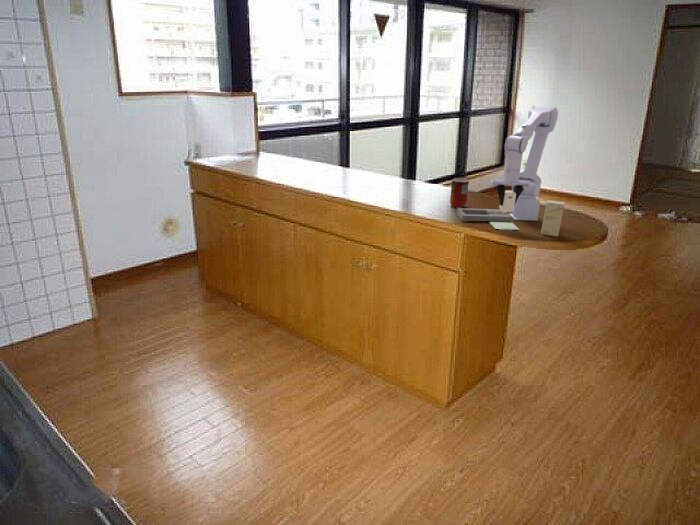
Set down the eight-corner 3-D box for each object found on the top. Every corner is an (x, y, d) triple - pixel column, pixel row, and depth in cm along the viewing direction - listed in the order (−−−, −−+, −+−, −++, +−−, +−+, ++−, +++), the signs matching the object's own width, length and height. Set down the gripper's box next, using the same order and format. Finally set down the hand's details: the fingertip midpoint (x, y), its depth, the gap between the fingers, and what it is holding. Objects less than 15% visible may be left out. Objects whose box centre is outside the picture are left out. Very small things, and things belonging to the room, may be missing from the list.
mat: (512, 223, 201) (512, 222, 200) (519, 230, 192) (519, 229, 192) (489, 223, 200) (489, 221, 200) (495, 230, 192) (495, 228, 192)
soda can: (469, 206, 224) (472, 178, 219) (459, 209, 219) (462, 181, 215) (455, 203, 228) (458, 176, 224) (446, 206, 224) (448, 178, 219)
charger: (509, 208, 196) (512, 190, 194) (513, 212, 192) (516, 193, 189) (499, 208, 196) (501, 190, 194) (503, 211, 192) (505, 193, 189)
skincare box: (540, 234, 189) (546, 202, 184) (541, 231, 192) (546, 199, 188) (558, 236, 187) (564, 204, 182) (558, 233, 190) (564, 201, 186)
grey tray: (502, 215, 212) (502, 208, 211) (509, 222, 202) (510, 215, 201) (456, 213, 212) (457, 206, 211) (461, 221, 202) (462, 214, 201)
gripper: (495, 170, 185) (490, 207, 189) (535, 171, 185) (529, 208, 190) (490, 167, 191) (486, 202, 196) (529, 168, 191) (523, 203, 196)
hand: (507, 205), depth 193 cm, fingers closed on charger, 4 cm apart
